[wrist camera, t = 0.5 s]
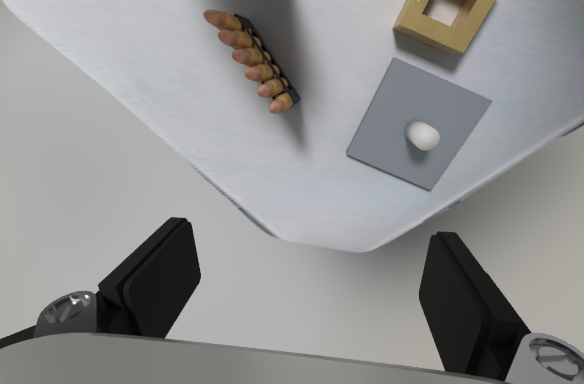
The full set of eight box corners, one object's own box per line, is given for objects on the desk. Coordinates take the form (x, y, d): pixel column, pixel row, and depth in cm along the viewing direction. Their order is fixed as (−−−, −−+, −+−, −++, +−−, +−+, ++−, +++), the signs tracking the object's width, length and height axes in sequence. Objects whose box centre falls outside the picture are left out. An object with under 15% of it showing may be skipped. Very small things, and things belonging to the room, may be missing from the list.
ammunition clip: (301, 99, 35) (286, 113, 24) (289, 107, 36) (269, 125, 25) (248, 18, 32) (205, -7, 21) (236, 29, 33) (188, 10, 22)
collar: (428, -48, 28) (441, -62, 25) (492, -19, 28) (512, -29, 25) (392, 28, 31) (399, 24, 28) (450, 54, 31) (463, 53, 28)
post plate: (393, 57, 32) (405, 55, 26) (488, 100, 32) (519, 106, 27) (345, 152, 37) (348, 166, 32) (428, 187, 37) (444, 208, 32)
